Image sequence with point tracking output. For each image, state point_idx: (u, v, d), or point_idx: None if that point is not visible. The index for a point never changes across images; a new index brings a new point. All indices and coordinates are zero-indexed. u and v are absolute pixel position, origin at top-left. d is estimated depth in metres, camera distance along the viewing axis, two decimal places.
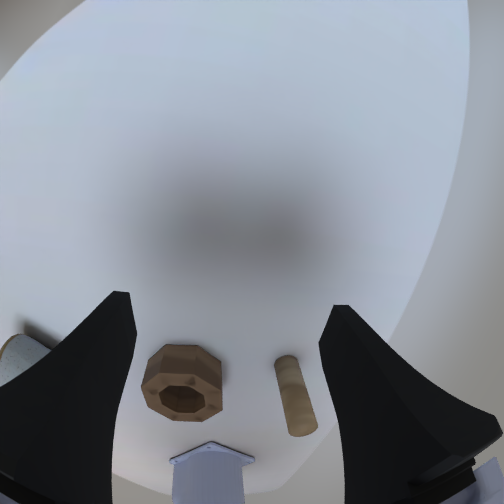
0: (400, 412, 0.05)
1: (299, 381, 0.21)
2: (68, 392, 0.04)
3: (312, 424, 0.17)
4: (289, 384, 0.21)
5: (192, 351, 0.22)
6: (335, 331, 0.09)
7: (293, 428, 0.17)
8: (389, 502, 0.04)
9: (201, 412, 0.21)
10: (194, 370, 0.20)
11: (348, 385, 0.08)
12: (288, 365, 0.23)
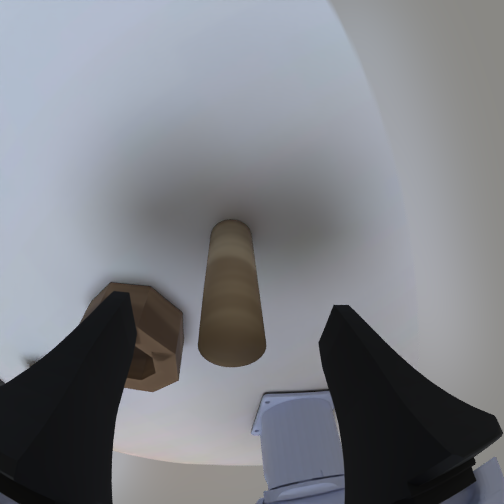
0: (400, 412, 0.05)
1: (224, 252, 0.12)
2: (68, 392, 0.04)
3: (236, 330, 0.08)
4: (207, 266, 0.12)
5: (103, 292, 0.16)
6: (335, 331, 0.09)
7: (208, 353, 0.09)
8: (389, 502, 0.04)
9: (160, 368, 0.15)
10: None
11: (348, 385, 0.08)
12: (214, 237, 0.14)
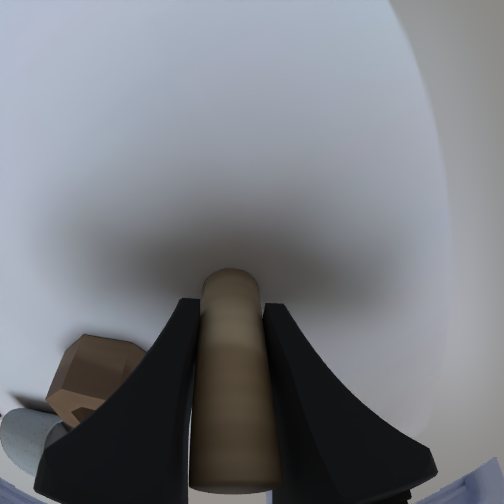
0: (304, 429, 0.05)
1: (221, 334, 0.08)
2: (176, 412, 0.05)
3: (242, 481, 0.04)
4: (197, 353, 0.08)
5: (75, 348, 0.12)
6: (265, 331, 0.09)
7: (203, 489, 0.05)
8: None
9: None
10: (63, 381, 0.09)
11: (273, 390, 0.08)
12: (207, 298, 0.10)
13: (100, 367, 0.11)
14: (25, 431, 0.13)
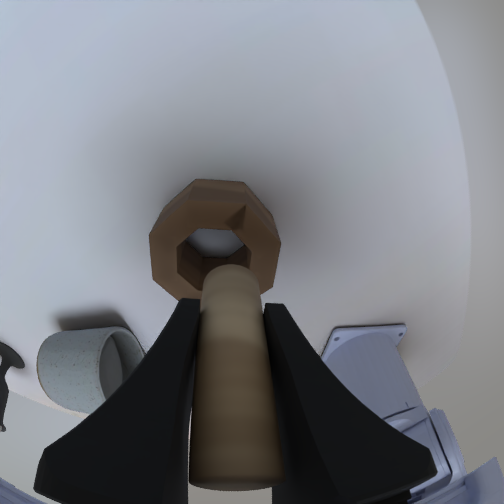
0: (304, 429, 0.05)
1: (224, 328, 0.08)
2: (176, 413, 0.05)
3: (246, 476, 0.04)
4: (199, 346, 0.08)
5: (189, 186, 0.15)
6: (265, 331, 0.09)
7: (203, 485, 0.05)
8: None
9: (256, 268, 0.15)
10: (188, 196, 0.13)
11: None
12: (209, 292, 0.10)
13: (222, 190, 0.14)
14: (76, 343, 0.17)
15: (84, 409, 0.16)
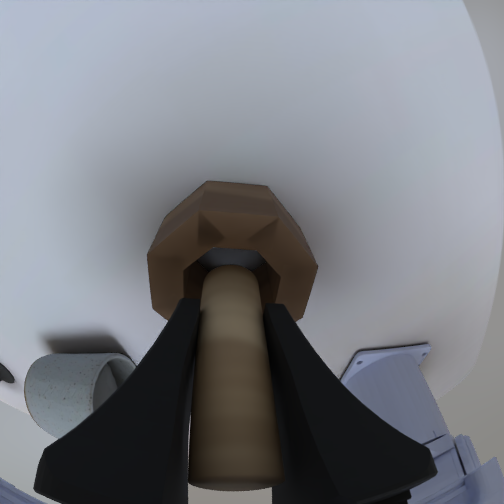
0: (304, 429, 0.05)
1: (223, 328, 0.08)
2: (176, 412, 0.05)
3: (245, 476, 0.04)
4: (198, 346, 0.08)
5: (199, 190, 0.12)
6: (265, 331, 0.09)
7: (202, 485, 0.05)
8: None
9: (285, 297, 0.12)
10: (200, 205, 0.10)
11: (273, 390, 0.08)
12: (209, 293, 0.10)
13: (243, 197, 0.11)
14: (66, 372, 0.14)
15: None
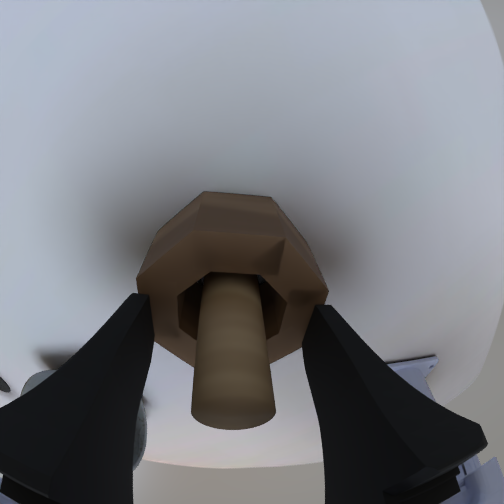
0: (376, 418, 0.05)
1: (224, 285, 0.10)
2: (96, 399, 0.05)
3: (241, 400, 0.06)
4: (203, 301, 0.10)
5: (195, 203, 0.11)
6: (316, 331, 0.09)
7: (203, 418, 0.07)
8: None
9: (291, 322, 0.10)
10: (194, 223, 0.09)
11: (328, 387, 0.08)
12: None
13: (245, 211, 0.10)
14: None
15: None
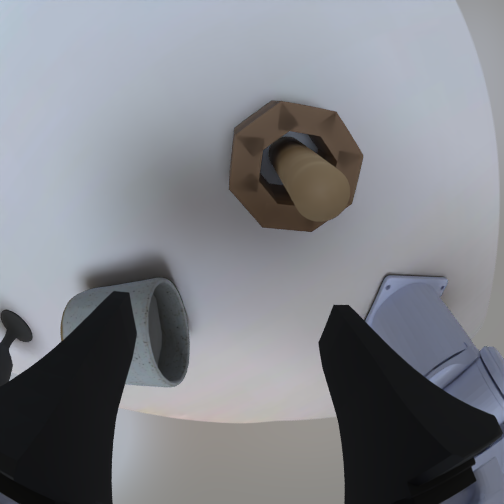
0: (400, 412, 0.05)
1: (295, 146, 0.13)
2: (68, 392, 0.04)
3: (330, 174, 0.10)
4: (280, 156, 0.13)
5: (268, 104, 0.14)
6: (335, 331, 0.09)
7: (300, 200, 0.10)
8: (389, 502, 0.04)
9: None
10: (279, 101, 0.12)
11: (348, 385, 0.08)
12: (278, 144, 0.15)
13: None
14: None
15: None
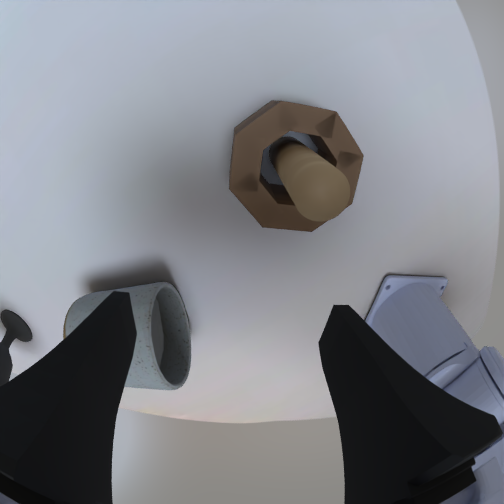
0: (400, 412, 0.05)
1: (295, 146, 0.13)
2: (68, 392, 0.04)
3: (330, 174, 0.10)
4: (281, 156, 0.13)
5: (268, 103, 0.14)
6: (335, 331, 0.09)
7: (300, 200, 0.10)
8: (389, 502, 0.04)
9: None
10: None
11: (348, 385, 0.08)
12: (278, 144, 0.15)
13: None
14: None
15: None
